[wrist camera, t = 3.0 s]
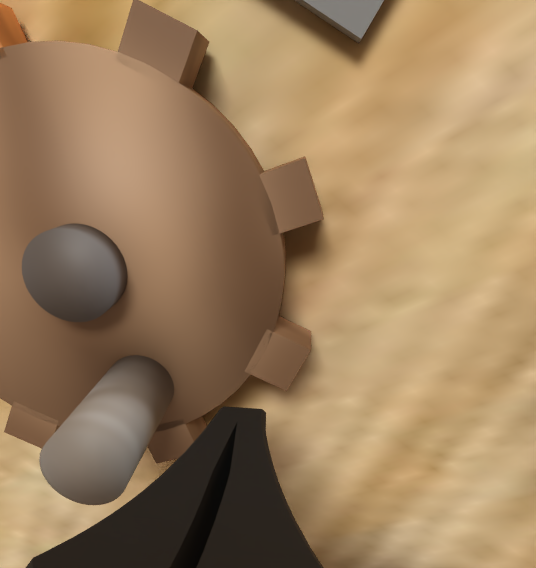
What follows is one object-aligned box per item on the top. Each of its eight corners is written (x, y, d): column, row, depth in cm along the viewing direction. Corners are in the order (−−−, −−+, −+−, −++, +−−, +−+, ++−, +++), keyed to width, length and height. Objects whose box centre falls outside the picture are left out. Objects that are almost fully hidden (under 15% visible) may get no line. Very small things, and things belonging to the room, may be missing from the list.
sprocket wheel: (224, -101, 11) (153, -299, 6) (377, 387, 16) (410, 509, 10) (-200, 114, 14) (-485, 102, 9) (29, 471, 19) (-77, 597, 14)
